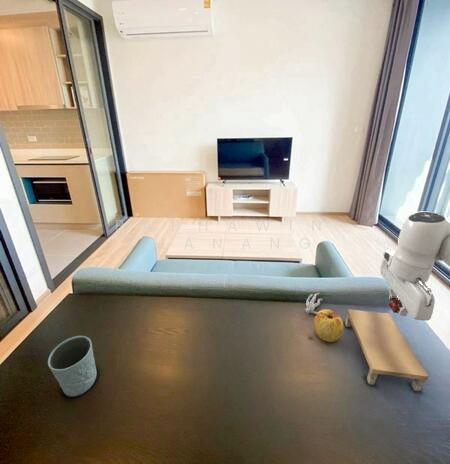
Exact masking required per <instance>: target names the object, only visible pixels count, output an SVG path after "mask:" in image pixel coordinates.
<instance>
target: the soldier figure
mask: <svg viewBox="0 0 450 464" xmlns="http://www.w3.org/2000/svg"><path fill="white" fill-rule="evenodd" d="M319 295H320V292H317V293H314V294H313V293H311V294H310V295H308V297H307V298H306V301H305V303H306V305H305V306H306V308H303V310H304V312H305V313H306V315H309V313H310V314H313V315H317V313H318V312H319V311H314V310H315V309H316V308H317V307H319V306H320V305H321V302H322V301H323V300H324V299H323V298H317V296H319ZM311 298H312V299H311ZM316 299H317V302H316Z"/></svg>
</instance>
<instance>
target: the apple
mask: <svg viewBox="0 0 450 464" xmlns="http://www.w3.org/2000/svg"><path fill="white" fill-rule="evenodd" d="M317 312H318V313H317V314H315V316H314V320H313V326H314V329H315V333H316V335H317V337H319V338H320V340H322V341H324V342H327V343H333V342H336V341H337V340H339V339H340V338H341V337H342V335H343V333H344V322H343V320H342V319H343V318H341V316H340V315H339V314H338V313H337V312H336V311H334V310H332V309H330V308H329V309H328V308H323V309H320V310H319V311H317Z"/></svg>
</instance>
